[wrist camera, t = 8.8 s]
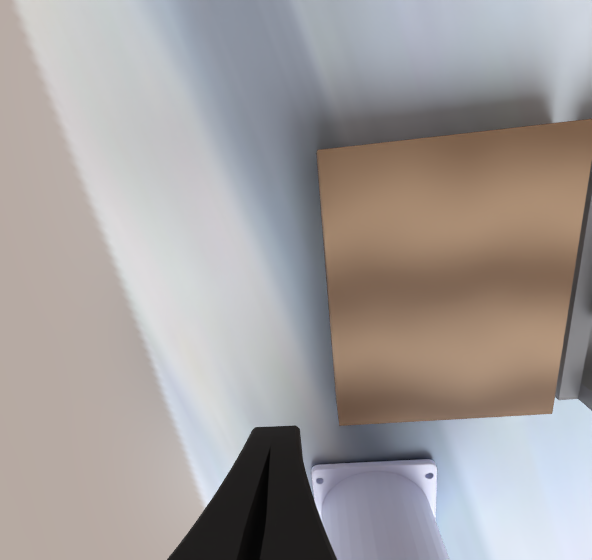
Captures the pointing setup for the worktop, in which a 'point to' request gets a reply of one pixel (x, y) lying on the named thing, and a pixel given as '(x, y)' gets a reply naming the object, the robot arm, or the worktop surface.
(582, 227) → the tray
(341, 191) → the walnut board
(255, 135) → the worktop surface
